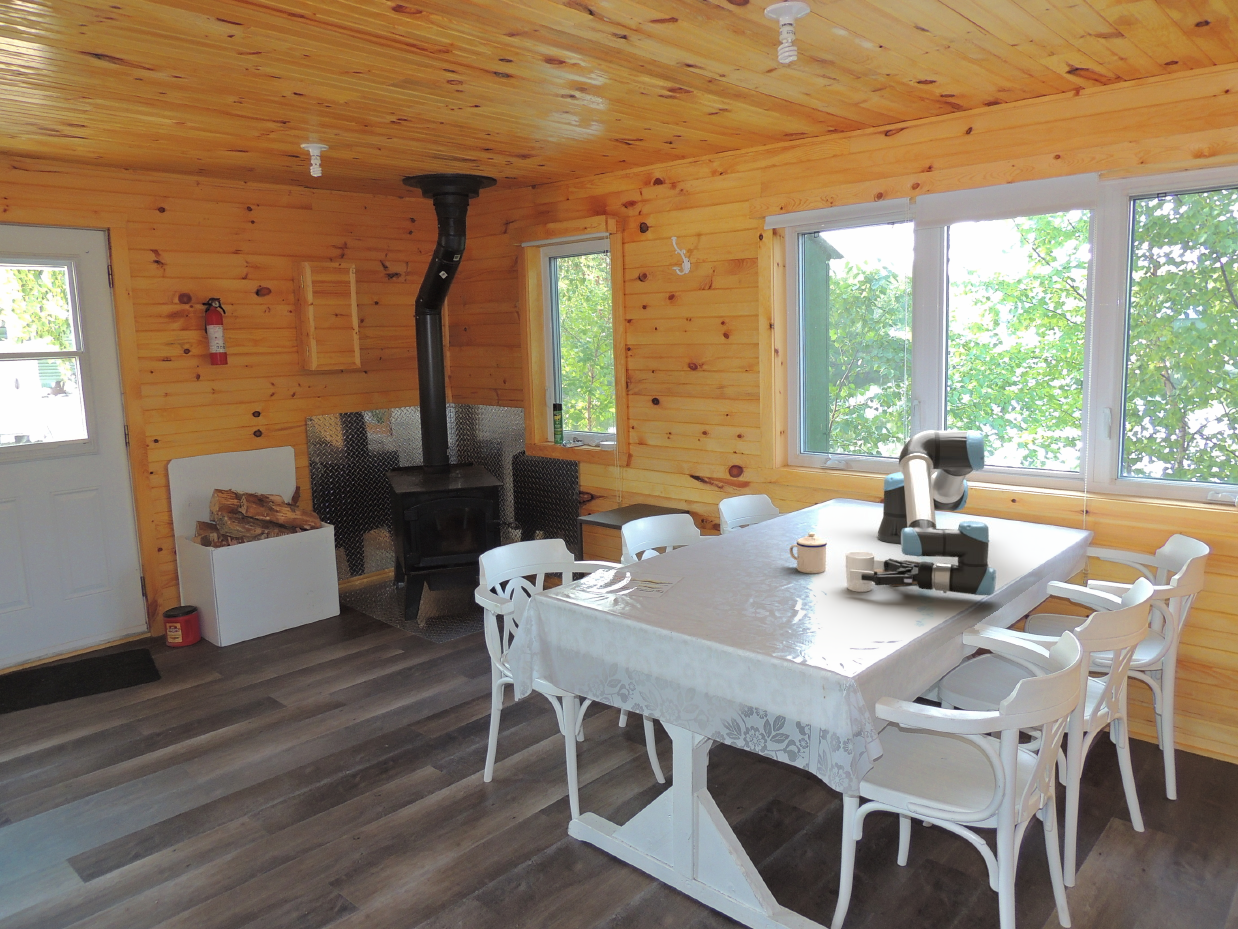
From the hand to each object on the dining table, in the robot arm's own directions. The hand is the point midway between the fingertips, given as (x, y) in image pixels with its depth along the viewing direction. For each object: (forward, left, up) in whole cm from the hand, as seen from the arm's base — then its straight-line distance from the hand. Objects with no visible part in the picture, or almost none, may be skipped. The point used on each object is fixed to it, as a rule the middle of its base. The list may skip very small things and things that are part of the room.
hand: (855, 568), depth 253 cm
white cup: (0, +1, -6) cm, 6 cm away
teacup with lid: (-23, -6, -6) cm, 24 cm away
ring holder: (-9, +20, -6) cm, 23 cm away
